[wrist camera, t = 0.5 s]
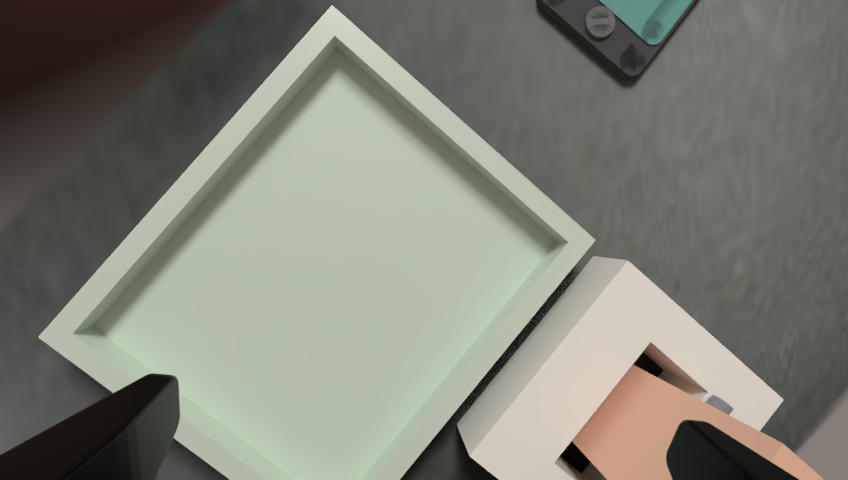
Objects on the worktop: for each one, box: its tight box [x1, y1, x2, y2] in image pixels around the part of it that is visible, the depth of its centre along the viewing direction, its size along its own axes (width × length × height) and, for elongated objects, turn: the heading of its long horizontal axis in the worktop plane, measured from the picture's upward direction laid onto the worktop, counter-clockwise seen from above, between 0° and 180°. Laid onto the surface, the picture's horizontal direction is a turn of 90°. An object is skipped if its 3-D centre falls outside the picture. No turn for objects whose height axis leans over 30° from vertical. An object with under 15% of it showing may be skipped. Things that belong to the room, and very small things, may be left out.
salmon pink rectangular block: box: [572, 365, 824, 480], centre depth 20 cm, size 5×2×11 cm, turn 140°
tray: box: [39, 5, 595, 480], centre depth 23 cm, size 20×17×2 cm
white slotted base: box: [457, 256, 783, 480], centre depth 23 cm, size 12×11×4 cm
